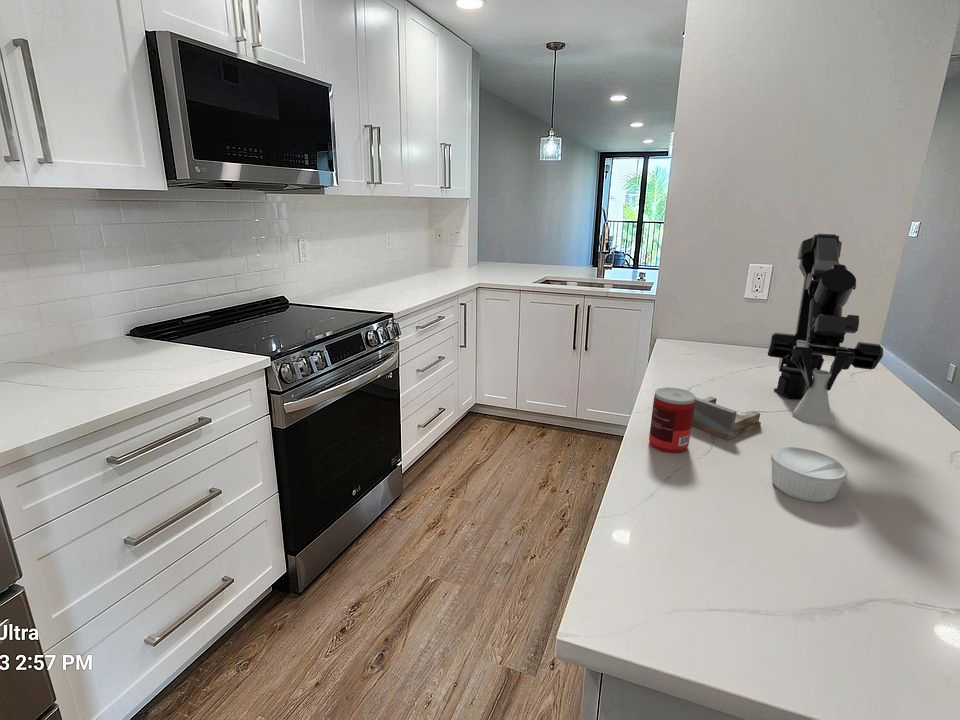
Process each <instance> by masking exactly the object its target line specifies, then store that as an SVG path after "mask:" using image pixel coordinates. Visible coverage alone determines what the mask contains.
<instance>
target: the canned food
mask: <svg viewBox="0 0 960 720" xmlns="http://www.w3.org/2000/svg"><path fill="white" fill-rule="evenodd" d="M695 401H696V395H695V394H694V393H693V392H691V391H690V390H687V389H683V388H679V387H660V388H656V390H655V392H654V397H653V404H652V412H651V419H650V428H649V434H648V435H649V437H648V440H649V444H650V445H651V447H652V448H655V450H658V451H661V452H664V453H669V454H677V453H683V452H685V451H686V450H687V449H688V447H689V446H690V439H691V433H692V421H693V414H694V408H695Z"/></svg>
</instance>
